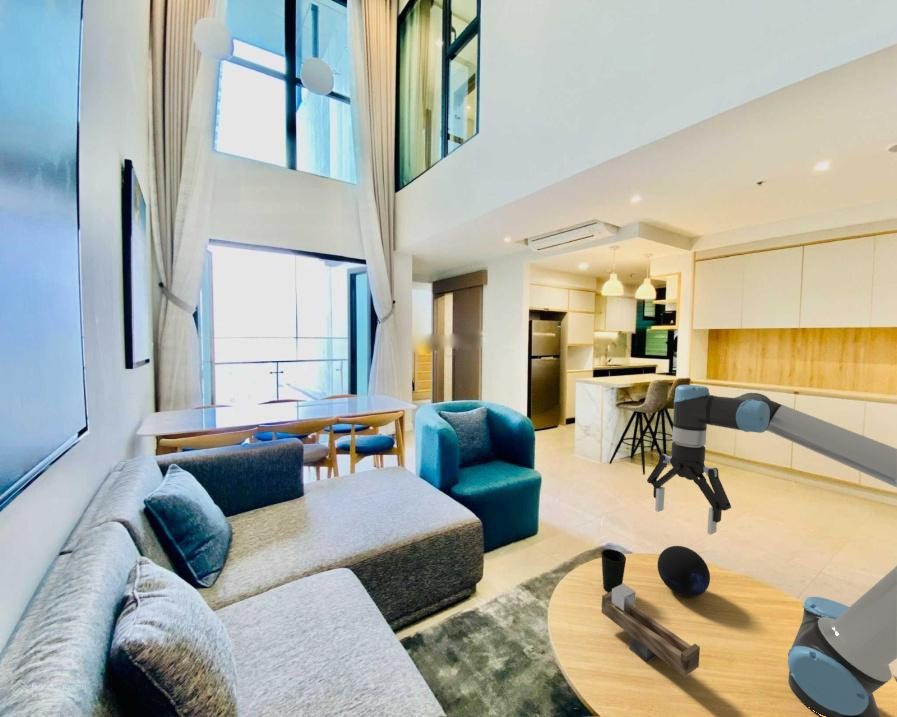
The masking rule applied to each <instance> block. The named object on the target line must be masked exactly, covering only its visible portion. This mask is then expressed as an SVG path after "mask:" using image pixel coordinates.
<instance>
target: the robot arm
mask: <svg viewBox="0 0 897 717" xmlns="http://www.w3.org/2000/svg"><path fill="white" fill-rule="evenodd" d="M709 389H710V388H708V387H707V386H703V385H697V384H695V385H694V384H680V385H678V386H676V388H675V390H674V391H675V393H674V400H673V423H672V433H671V434H672V436H671V439H672V441H673V442H672V443H671V456H670V455H669V454H668V453H665V454H660V455H659V458H658V462H657V464H656V465H655V466H654V468H653V470H652V472H651V473H650V475H649V476H648V478H647V479H646V481H647V483H648V484H650V485H652V486H653V493H652V494H653V498H655V506H654V507H655V512H657V513H659V512H661V511H664V510H665V509H664V508H665V506H664V505H665V489H666V488H665V487H663V486H664V485H665V484H666V483H667V482H668V481H670V480H671V479H672V478H674V477H675V476H678V477H680V478H684V479H686V480H689V481H693V482H694V484H695V485H697V486H698V488H699V490H700V491H701V492H702V493H703V495H704V497H705V499H706V500H707V501H708V503H709V505H710V506H711V507H708V517H707V518H708V519H707V533H706V534H708V535H713V534H715V533H716V532H717V525H718V523H720V522H721V521H722V512H724V511H725V512H726V511H727V510H729V509H732V505H731V502H730V500H729V498H728V495H727V493H726V491H725V488H724V486H723V484H722V481H721V479H720V478H719V477H720V476H719V469H718V468H717V467H712V468H711V467H707V466H706V465H705V460H706V447H705V445H706V444H707V430H708V429H707V428H708V427H707V426H708V425H709V426H713V427H714V426H716V427H720V428H727V429H732V430H738V431H743V432H745V433H749V432H750V433H757V434H760V433H761V434H762V433H764V432H765V431H767V432H770V433H772V434H775V435H776V436H779V437H781V438H783V439H785V440H788V441H790V442H792V443H795V444H797V445H799V446H802V447H804V448H806V449H809V450H811V451H813V452H814V453H817V454H820V455H822V456H824V457H827V458H829V459H831V460H833V461H836V462H837V463H840V464H842V465H845V466H847V467H849V468H851V469H854V470H856V471H858V472H860V473H863V474H865V475H868V476H870V477H872V478H874V479H877V480H879V481H881V482H883V483H886V484H888V485H891V486H892V487H895V488H897V448H896V447H893V446H891V445H888V444H886V443H883V442H880V441H878V440H874V439H872V438H870V437H868V436H865V435H862V434H859V433H856V432H854V431H852V430H849V429H847V428H844V427H841V426H838V425H836V424H833V423H831V422H828V421H825V420H823V419H820V418H818V417H815V416H813V415H810V414H807V413H805V412H802V411H799V410H798V409H794V408H792V407H789V406H786V405H784V404H781V403H778V402H777V401H774V400H772V399H770V398H769V397H768V396H767V395H764V394H762V393H759V392H746V393H743V394H741V395H739V396H736V397H735V396H734V397H728V396H727V397H726V396H719V395H718V396H717V395H712V394H710V390H709ZM669 463H670V465H671V466H672V468H670V469H669V470H668V472H666V473H665V474H664V475H663V476H661V474H662V473H663V471H664V470H665V467H666V466H667V465H668V464H669ZM704 473H705V475H706V476H705V475H704ZM660 476H661V477H660ZM659 477H660V478H659ZM706 477H708V481H709V483H710V484H709V483H708V482H707V478H706ZM710 485H711V486H710ZM802 608H803V615H802V621H801V623H800V626H799V629H798V631H797V633H796V636H795V638H794V640H793V644H792V645H791V648H790V649H789V650H788V654H787V655H788V659H787V666H788V678H787V679H788V680H787V681H788V685H789V687H790V689H791V692H793V694H794V695H795V696H796V698H799V699H800V700H801V701H802V702H803V703H804V704H803V703H802V702H801V701H800V700H799V699H798V700H799V701H800V702H801V703H802V704H803V705H805V704H806V705H807V706H808V707H810V708H811V709H812V710H814V711H815V712H817V713H819V714H821V715H823V716H826V717H881V716H880V711H879V708H878V705H877V702H876V700H875V697H874V692H875V691H877V690H878V689H880V688H882V686H884V685H885V684H887V683H888V682H889V681H890V680H892V677H893V675H892V673H893V672H892V670H891V668H890V666H889V665H890V664H892V663H893V662H894V661H895V660H896V659H897V565H896V566H895V567H893V569H891V570H890V571H889V572H887V574H885V575H884V576H883V577H882V578H880V580H879V581H877V583H875V584H874V585H873V586H872V587H871V588H870V589H868V590H867V591H866V592H865V593H864V594H863V595H861V596H860V597H859V598H858V599H857V600H856V601H855V602H854V603H852V604H851V605H849V606H848V605H845V604H843V603H840V602H837V601H836V600H835V601H834V600H833V599H830V598H824V597H820V596H809V597H806V598H805V599H804V604H803V605H802ZM806 705H805V706H806ZM807 706H806V707H807ZM808 707H807V708H808ZM811 709H810V710H811ZM812 710H811V711H812ZM815 712H814V713H815Z"/></svg>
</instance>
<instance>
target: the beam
mask: <svg viewBox="0 0 897 717" xmlns="http://www.w3.org/2000/svg"><path fill="white" fill-rule="evenodd" d="M611 601H612V591H611V592H609V593H608V592H606V593H604V594H603V595H602V596H601V613H602V615H604V616H606V617H607V618H608V619H609V620H610V621H612V622H613V623H614V624H616V625H617V626H618V627H620V628H621V629H623V630H624V632H626V633H627V634H629V648H628V649H629V650H630V651H631V652H632V653H634V654H635V655H636V656H637V657H638V658H640V659H641V660H642V661H644V662H645V663H646V664H647V663H649V662H650V661H651V660H654V659H655V658H656V657H658V658H660V659H661V660H662V661H664V662H665V663H666V664H667V665H669V666H670V667H672V668H673V669H674V670H675V671H677V672H678V673H679V674H681V675H682V676H683V677H684V678H686V677H687V676H690V674H691V673H693V672H694V671H695V670H696V669H698V668H699V667H700V652H701V651H700V650H701V649H700V648H701V647H700V646H699V645H698V644H696V643H693V644H692V645H691V644H690V643H688V642H687V641H685V640H684V639H682V638H681V637H680V636H678V635H676V634H675V633H673V632H672V631H671V630H669V629H668V628H666V627H665V626H663V624H661V623H659V622H658V621H656V620H655V619H653V618H652V617H650V616H649V615H647V614H646V613H645V612H643V611H642V610H640V609H639V608H637V606H635V605H634V606H632V607H630V614H627V613H626V612H625V611H623V610H622V609H620V608H619V607H618V606H616V605H615V604H613V603H612V602H611Z"/></svg>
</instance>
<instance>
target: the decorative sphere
mask: <svg viewBox="0 0 897 717" xmlns="http://www.w3.org/2000/svg"><path fill="white" fill-rule="evenodd" d="M657 570H658V574H659V577H660V579H661V581H662V582H663V584H664V585H666V588H668V589H669V590H671V592H672V591H673V592H674V593H675V594H677V595H679V596H682V597H687V598H695V597H698V596H700V595H703V594H705V593H706V591H707V589H708V588H709V586H710V583H711V574H710V570H709V567H708V565H707V563H706V561H705V560H704V559H703V557H702V556H701V555H699V553H697V552H696V551H695V550H692V549H691V548H688V547H686V546H683V545H672V546H668V547H667V548H665V549H663V551H661V553H660V554H659V556H658V559H657Z"/></svg>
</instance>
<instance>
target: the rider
mask: <svg viewBox="0 0 897 717" xmlns="http://www.w3.org/2000/svg"><path fill="white" fill-rule="evenodd" d="M611 602H612V603H613V604H615V605H616V606H618V607H619V608H620V609H622V610H623V611H625V612H626V613H627V614H630V607H632V606H635V605H636V591H635V590H634V589H632V588H631V587H629V586H628V585H626V584H624V583H622V584H621V585H619V586H617V587H615V588H613V589H612V601H611Z"/></svg>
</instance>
